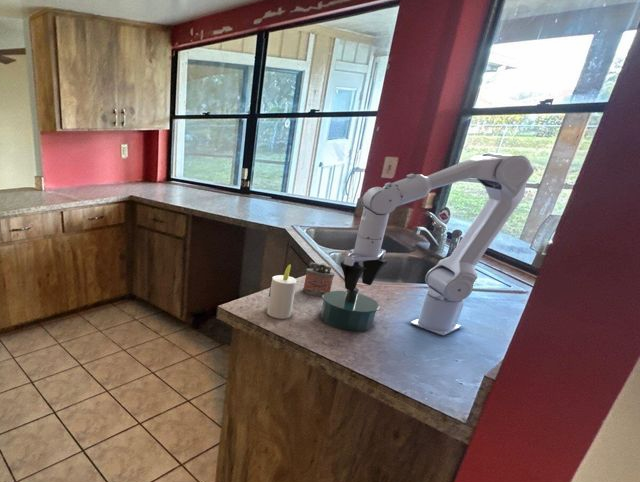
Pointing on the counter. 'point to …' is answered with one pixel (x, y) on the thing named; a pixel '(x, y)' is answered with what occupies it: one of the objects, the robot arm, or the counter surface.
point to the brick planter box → (318, 279)
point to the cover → (351, 301)
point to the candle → (281, 295)
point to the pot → (347, 318)
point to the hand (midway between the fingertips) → (358, 286)
